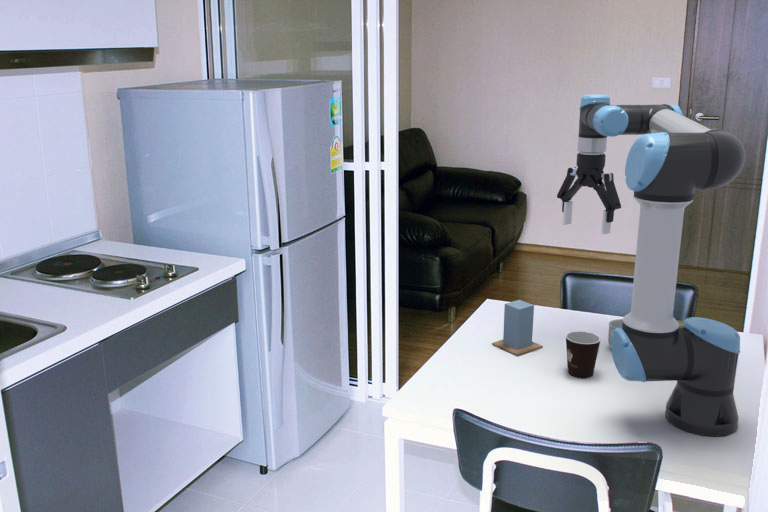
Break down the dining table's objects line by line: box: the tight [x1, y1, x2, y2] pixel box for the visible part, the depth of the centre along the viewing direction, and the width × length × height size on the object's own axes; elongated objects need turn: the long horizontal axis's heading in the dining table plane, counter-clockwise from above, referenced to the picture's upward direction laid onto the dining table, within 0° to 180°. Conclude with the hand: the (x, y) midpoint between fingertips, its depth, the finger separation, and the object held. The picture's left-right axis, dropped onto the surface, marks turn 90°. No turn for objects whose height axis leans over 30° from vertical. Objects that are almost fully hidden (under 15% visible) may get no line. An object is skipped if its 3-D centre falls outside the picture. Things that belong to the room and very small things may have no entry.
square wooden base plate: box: [491, 339, 544, 357], centre depth 203 cm, size 10×10×8 cm
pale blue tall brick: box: [502, 299, 535, 350], centre depth 202 cm, size 6×6×12 cm
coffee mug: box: [565, 330, 601, 380], centre depth 187 cm, size 12×9×10 cm
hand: (585, 228), depth 201 cm, fingers open, 13 cm apart
